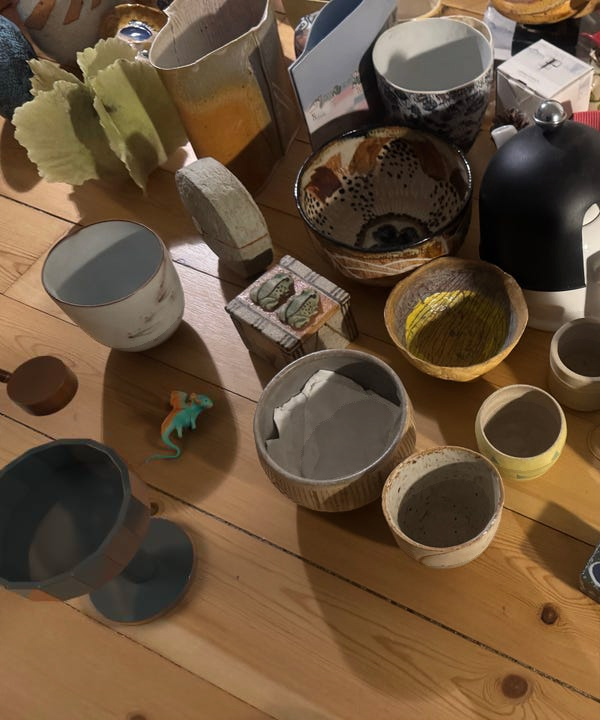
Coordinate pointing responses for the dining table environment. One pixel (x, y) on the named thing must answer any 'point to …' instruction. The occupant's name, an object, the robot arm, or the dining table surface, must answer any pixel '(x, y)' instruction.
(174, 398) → the dragon figurine
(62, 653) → the dining table surface
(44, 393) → the ladle
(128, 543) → the bowl
